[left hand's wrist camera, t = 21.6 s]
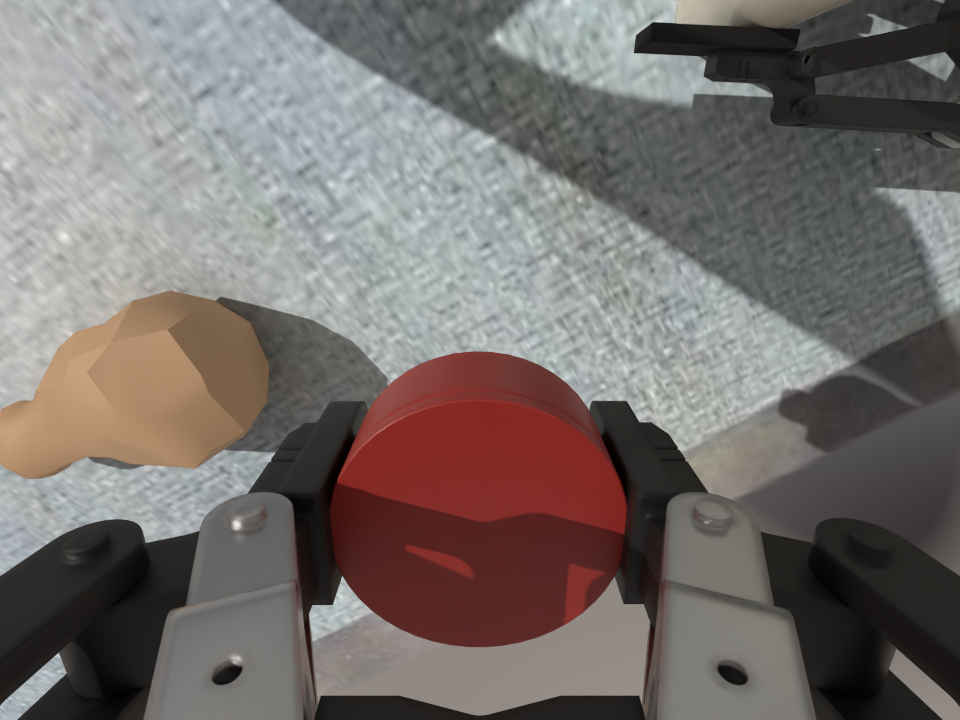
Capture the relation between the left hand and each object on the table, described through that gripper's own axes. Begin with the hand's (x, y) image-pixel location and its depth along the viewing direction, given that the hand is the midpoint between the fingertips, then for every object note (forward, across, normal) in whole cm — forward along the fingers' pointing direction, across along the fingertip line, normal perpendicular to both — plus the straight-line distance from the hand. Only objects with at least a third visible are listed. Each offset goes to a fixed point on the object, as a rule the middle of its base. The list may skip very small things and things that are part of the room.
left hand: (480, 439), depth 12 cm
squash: (+24, -23, -9) cm, 34 cm away
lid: (-3, 0, 0) cm, 3 cm away
